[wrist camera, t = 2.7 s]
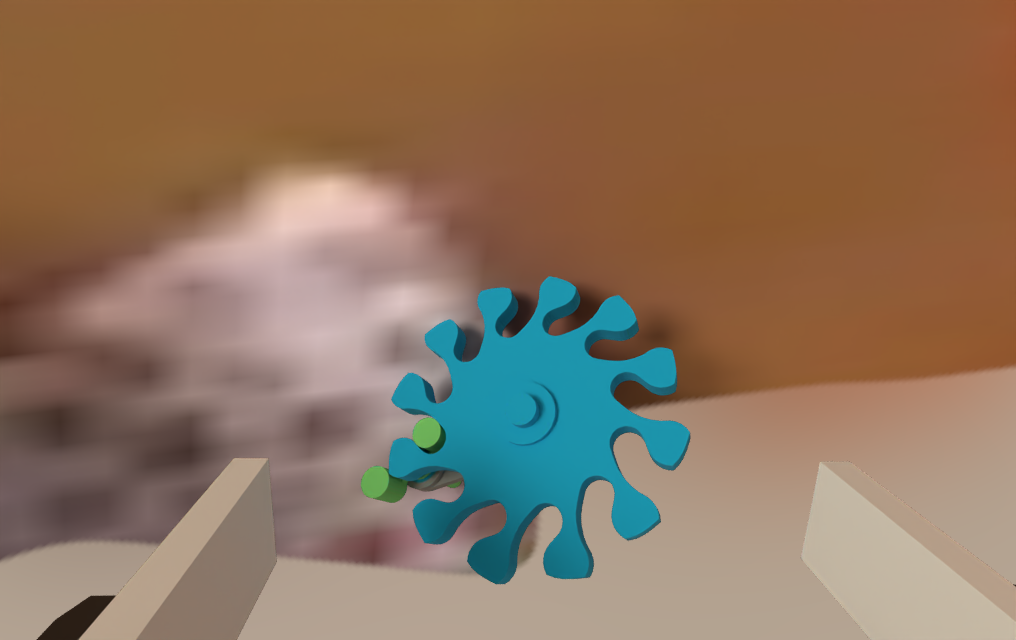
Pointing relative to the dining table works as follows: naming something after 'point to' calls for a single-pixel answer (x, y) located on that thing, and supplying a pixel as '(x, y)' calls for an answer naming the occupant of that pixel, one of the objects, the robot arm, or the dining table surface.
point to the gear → (529, 430)
